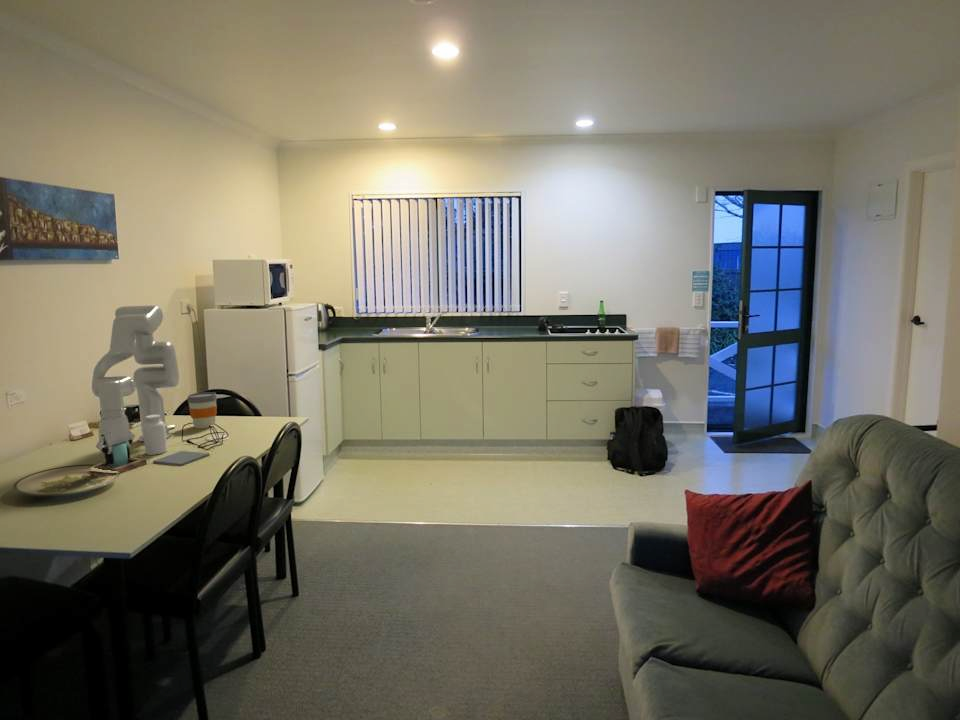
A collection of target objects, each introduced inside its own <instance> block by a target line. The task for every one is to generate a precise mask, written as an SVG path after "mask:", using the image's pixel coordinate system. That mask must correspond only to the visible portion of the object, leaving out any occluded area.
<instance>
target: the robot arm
mask: <svg viewBox="0 0 960 720" xmlns="http://www.w3.org/2000/svg"><path fill="white" fill-rule="evenodd" d="M114 314H115V318H114V319H113V321H112V327H111V328H112V329H111V334H110V335H111V336H110V338H111V339H110V344H109V345H110V346H109V350H108V352H107V353H105V354H104V355H103V356H102V357H101V358H100V359H99V361H98V362H97V363H96V365H95V366H94V369H93V373H92V381H91V391H92V394H93V395H94V396H95V397H97V398H98V399H99V407H100V415H101V417H100V419H99V421H98V442H97V444H96V445H95V448H97V449H98V450H99V451H100V452H101V453H102V454H104V459H105V461H104V462H106V464H113V463H114V461H113V454H112V453H111V451H112V446H113V445H117V444H120V443H123V442H126V445H127V454H128V459H129V458H131V451H130V450H131V449H130V448H132V447H131V446H132V443H133V441H134V439H135V438H136V434H134V433H133V432H131V428H130V422H129V419H128V416H127V415H126V413H125V412H127V407H125V406H124V405H125V404H124V403H125V402H124V397H127V396H128V397H129V396H131V395H132V394H134V393H135V392H137V393H136V394H137V399H138V400H137V401H138V409H139V410H138V411H139V418H140V427H141V435H140V436H138V437H137V439H138V441H140V442H141V441H142V442H141V443H143V442H144V434H143V425H144V424H145V423H147V422H146V419H145V417H146V416H149V415H160V419H161V420H160V421H162V422H164V424H165V430H166V440H168V439H169V438H171V437H172V434H171V433H170V431H172V430H175V428H176V427H175V425H174V424H172V425H166V423H167V422H166V414H165V412H166V411H165V406H164V405H165V404H164V402H165V401H164V397H163V395H162V394H161V392H160V391H159V390H158V389H166V388H167V389H169V388H174V387H176V386H178V384H179V381H180V374H179V368H178V367H179V366H178V361H177V354H176V349H175V347H174V345H173V343H171V342H169V341H155V339H154V333H155V332H156V331H157V330H158V328H160V326H161V324H162V323H163V319H164V318H163V317H164V313H163V310H162V309H161V307H159V306H158V305H126V306H119V307H118V308H117V309H116V310H115V311H114ZM133 357H134V360H135V363H136V364H139V365H142V366H141V367H139V368H137V369H135V371H134V372H133V377H131V376H129V375H128V376H127V375H124V376H123V375H122V376H121V375H120V376H106V373H107V372H108V371H109V370H110V369H111V368H112V367H113V366H115V365H117V364H119V363H121V362H124V361H126V360H128V359H130V358H133ZM143 365H151V366H143ZM152 365H153V366H152ZM107 448H108V450H107Z"/></svg>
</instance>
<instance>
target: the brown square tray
mask: <svg viewBox="0 0 960 720" xmlns="http://www.w3.org/2000/svg"><path fill="white" fill-rule="evenodd" d="M147 462H148V461H147V458H139V457H138V458H137V457H130V458H129V459H128V463H129V464H126V465H123V466H120V467H108V466H109V464H106V461H103V462H100V463H98V464H93V466H95V467H94V468H98V469H102V470H111V471H117V470H119V472H120V474H122V473H125V472H127V471H130V470H134V469H136V468H138V467H143V466H145V465H147V464H148V463H147Z"/></svg>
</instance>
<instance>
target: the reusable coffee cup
mask: <svg viewBox="0 0 960 720" xmlns="http://www.w3.org/2000/svg"><path fill="white" fill-rule="evenodd" d="M217 400H218V398H217V393H216V392H213V391H211V392H209V391H208V392H207V391H205V392H196V393H191V394H188V395H187V403H188V406H189V407H188V410H189V415H190V418H191V419H192V424H193V428H194V427H195V428H194V429H198V428H201V429H208V427H209V425H214V424H215V425H216V416H217V409H218V405H217ZM209 428H210V427H209Z"/></svg>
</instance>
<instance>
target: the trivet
mask: <svg viewBox="0 0 960 720" xmlns="http://www.w3.org/2000/svg"><path fill="white" fill-rule="evenodd" d="M209 456H210V453H206V452H198V451H197V452H196V451H188V450H187V451H186V450H179V451H177V452H175V453H172V454H169V455H166V456H163V457H160V458H158V459H155V460H152V463H153V464H158V465H168V466H177V467H179V466H180V467H183V466H186V465H188V464H190V463H193V462H197V461H199V460H201V459H203V458H207V457H209Z"/></svg>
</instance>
